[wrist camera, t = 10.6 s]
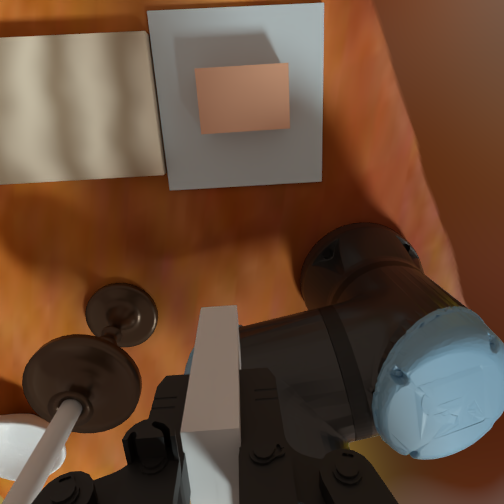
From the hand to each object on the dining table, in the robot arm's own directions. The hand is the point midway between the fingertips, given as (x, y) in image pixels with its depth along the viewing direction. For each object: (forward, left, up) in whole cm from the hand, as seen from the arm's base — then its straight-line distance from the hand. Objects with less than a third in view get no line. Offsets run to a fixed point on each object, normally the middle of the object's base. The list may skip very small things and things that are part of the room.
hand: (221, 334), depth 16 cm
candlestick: (+15, +15, -31) cm, 37 cm away
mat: (-2, -10, -30) cm, 32 cm away
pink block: (-2, -10, -30) cm, 32 cm away
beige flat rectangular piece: (+16, -10, -30) cm, 36 cm away
